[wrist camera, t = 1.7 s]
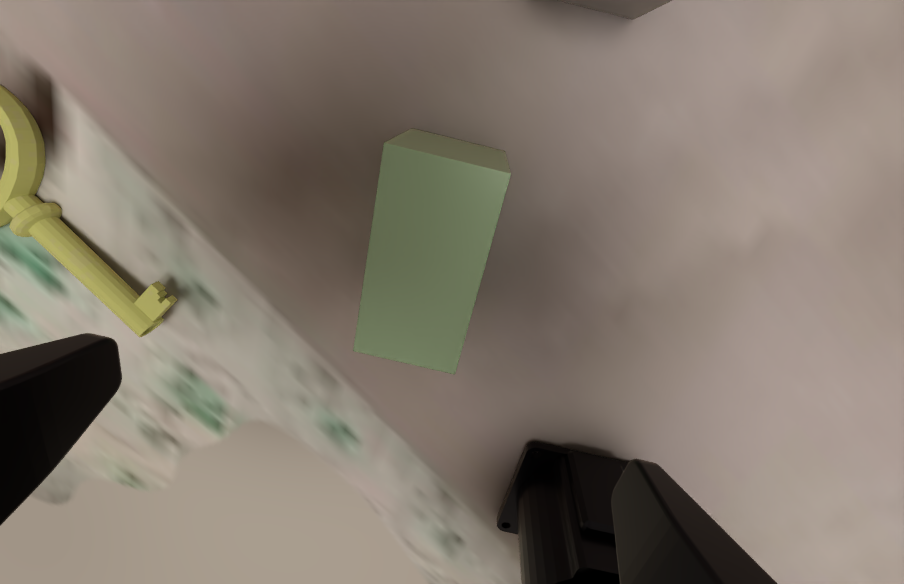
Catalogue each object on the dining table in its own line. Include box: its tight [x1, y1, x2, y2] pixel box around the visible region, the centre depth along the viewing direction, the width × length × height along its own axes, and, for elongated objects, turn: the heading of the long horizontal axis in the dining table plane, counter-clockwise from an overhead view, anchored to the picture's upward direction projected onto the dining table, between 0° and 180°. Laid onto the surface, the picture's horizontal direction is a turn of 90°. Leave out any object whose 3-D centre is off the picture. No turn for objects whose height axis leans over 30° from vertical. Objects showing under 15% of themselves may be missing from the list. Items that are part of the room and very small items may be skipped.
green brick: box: [353, 128, 511, 374], centre depth 16 cm, size 7×4×5 cm, turn 167°
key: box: [0, 85, 177, 337], centre depth 18 cm, size 7×12×2 cm, turn 59°
